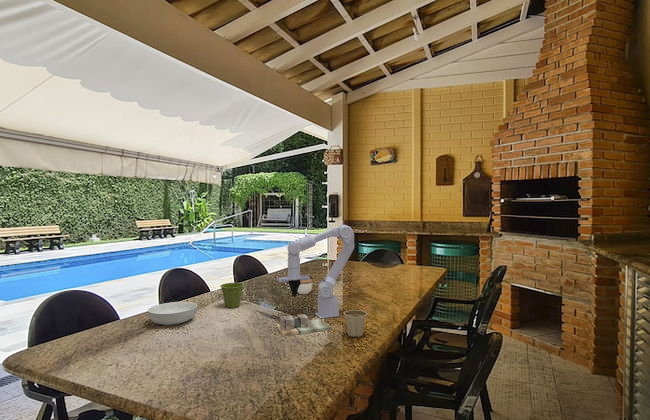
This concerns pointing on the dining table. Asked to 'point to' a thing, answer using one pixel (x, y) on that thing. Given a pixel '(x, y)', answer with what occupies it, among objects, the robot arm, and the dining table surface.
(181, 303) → the serving bowl
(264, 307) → the dining table surface
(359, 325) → the flower pot
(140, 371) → the dining table surface
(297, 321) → the charcoal brick
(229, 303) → the plant pot
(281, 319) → the base
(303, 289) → the lidded jar
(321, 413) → the dining table surface
